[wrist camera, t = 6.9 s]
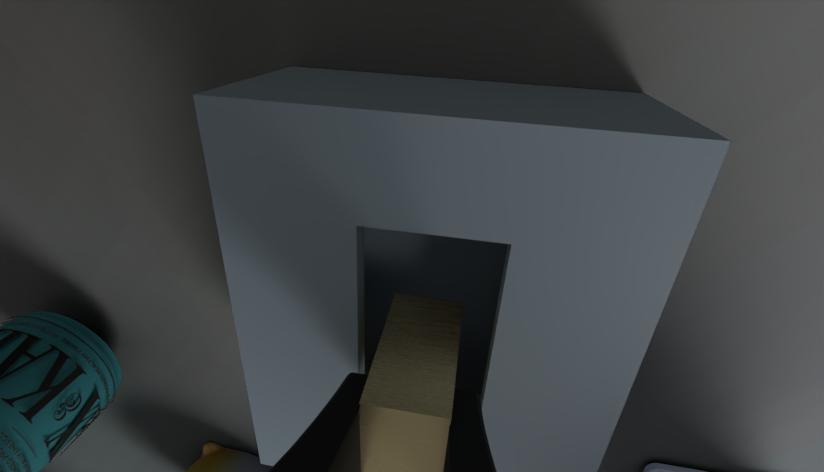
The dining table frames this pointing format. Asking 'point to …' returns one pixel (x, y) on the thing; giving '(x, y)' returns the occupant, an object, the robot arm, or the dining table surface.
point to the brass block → (411, 387)
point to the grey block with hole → (452, 241)
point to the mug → (226, 461)
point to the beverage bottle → (49, 386)
